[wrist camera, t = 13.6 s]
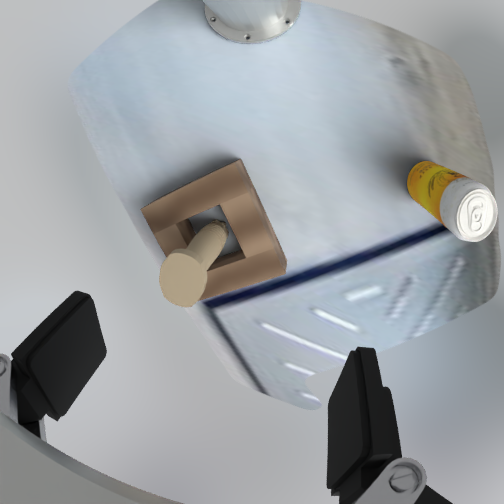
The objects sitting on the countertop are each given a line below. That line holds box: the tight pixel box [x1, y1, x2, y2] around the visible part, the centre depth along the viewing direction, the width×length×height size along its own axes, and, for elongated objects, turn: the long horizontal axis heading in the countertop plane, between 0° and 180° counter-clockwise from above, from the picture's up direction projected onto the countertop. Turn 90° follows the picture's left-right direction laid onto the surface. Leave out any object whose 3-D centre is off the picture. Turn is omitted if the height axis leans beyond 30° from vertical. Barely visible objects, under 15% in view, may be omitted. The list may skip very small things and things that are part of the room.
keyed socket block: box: [141, 159, 287, 301], centre depth 42 cm, size 16×15×4 cm
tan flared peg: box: [159, 220, 229, 307], centre depth 37 cm, size 5×6×15 cm
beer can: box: [407, 161, 497, 242], centre depth 28 cm, size 6×6×15 cm
